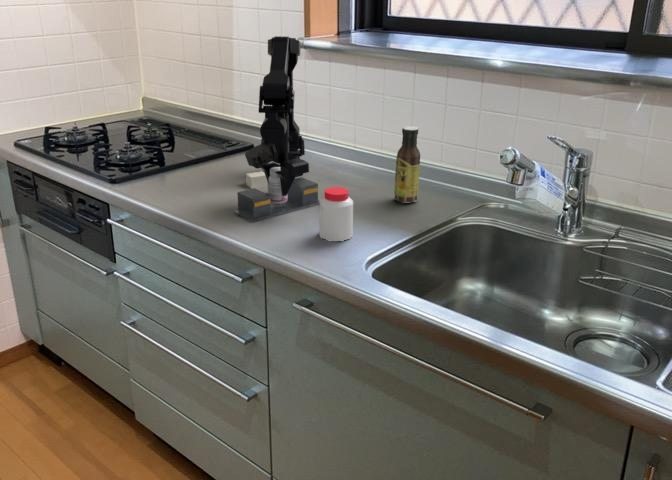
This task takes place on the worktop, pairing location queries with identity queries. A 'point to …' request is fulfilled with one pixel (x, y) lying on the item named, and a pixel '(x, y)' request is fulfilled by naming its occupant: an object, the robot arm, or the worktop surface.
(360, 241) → the worktop surface
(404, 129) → the sauce bottle
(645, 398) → the worktop surface
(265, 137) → the robot arm
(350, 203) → the pill bottle
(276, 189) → the pill bottle
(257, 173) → the cream rectangular block
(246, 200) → the dark grey block rack
